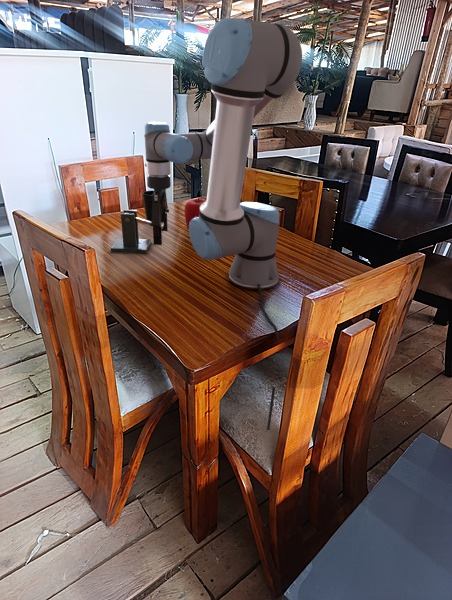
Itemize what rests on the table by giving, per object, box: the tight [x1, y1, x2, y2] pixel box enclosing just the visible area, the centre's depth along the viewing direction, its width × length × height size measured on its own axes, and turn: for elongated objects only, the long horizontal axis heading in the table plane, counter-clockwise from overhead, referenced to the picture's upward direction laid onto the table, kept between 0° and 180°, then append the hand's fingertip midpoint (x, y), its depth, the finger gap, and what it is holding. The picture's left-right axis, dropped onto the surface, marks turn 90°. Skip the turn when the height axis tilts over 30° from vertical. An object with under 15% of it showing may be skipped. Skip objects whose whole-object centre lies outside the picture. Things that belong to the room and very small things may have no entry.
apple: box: [183, 197, 207, 231], centre depth 154 cm, size 10×10×14 cm
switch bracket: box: [110, 209, 152, 255], centre depth 137 cm, size 12×10×13 cm
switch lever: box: [126, 212, 164, 229], centre depth 136 cm, size 13×6×2 cm, turn 90°
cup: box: [142, 190, 158, 223], centre depth 163 cm, size 8×8×12 cm
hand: (160, 237), depth 139 cm, fingers open, 13 cm apart
